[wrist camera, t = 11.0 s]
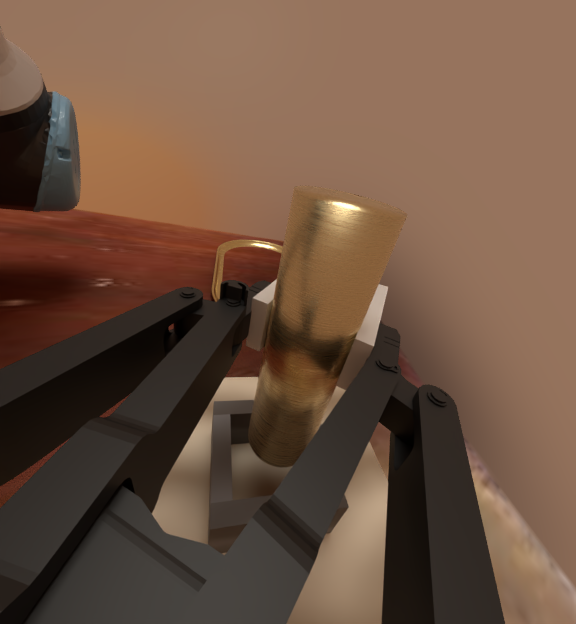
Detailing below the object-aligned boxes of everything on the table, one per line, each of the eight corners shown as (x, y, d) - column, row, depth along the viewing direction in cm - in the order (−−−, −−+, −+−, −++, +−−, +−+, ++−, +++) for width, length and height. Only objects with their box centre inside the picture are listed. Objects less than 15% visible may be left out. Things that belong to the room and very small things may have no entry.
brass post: (245, 409, 18) (284, 180, 11) (302, 406, 19) (373, 197, 12) (250, 471, 15) (311, 204, 7) (319, 463, 16) (432, 224, 8)
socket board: (149, 389, 26) (144, 347, 23) (335, 384, 32) (349, 350, 29) (36, 801, 10) (-24, 828, 7) (450, 650, 16) (509, 632, 13)
